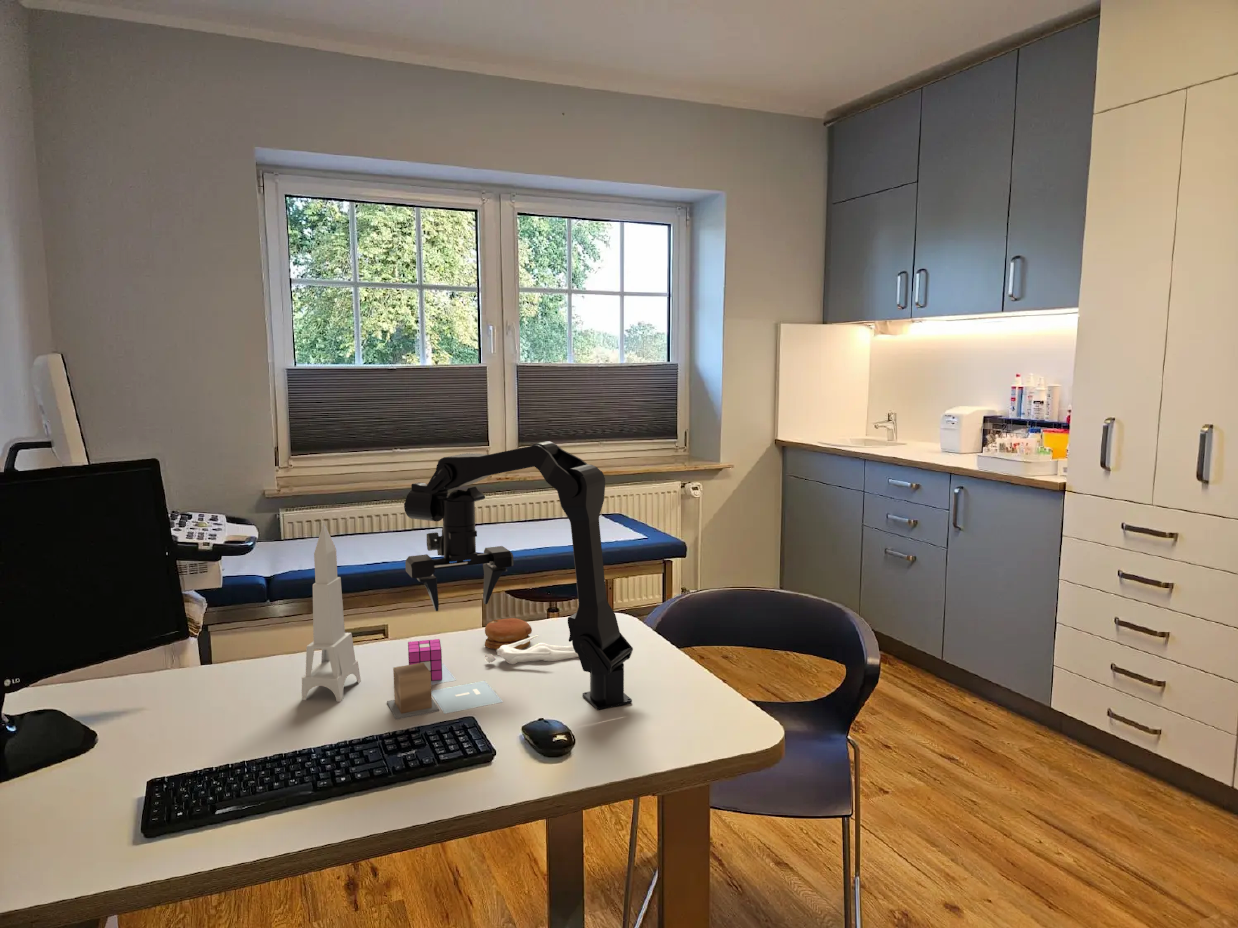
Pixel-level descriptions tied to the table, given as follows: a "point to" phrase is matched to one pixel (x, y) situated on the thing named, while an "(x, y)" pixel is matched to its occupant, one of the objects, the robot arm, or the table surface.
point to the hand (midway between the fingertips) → (461, 607)
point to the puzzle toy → (427, 656)
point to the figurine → (533, 652)
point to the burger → (507, 633)
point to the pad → (398, 714)
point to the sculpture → (328, 626)
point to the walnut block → (412, 687)
